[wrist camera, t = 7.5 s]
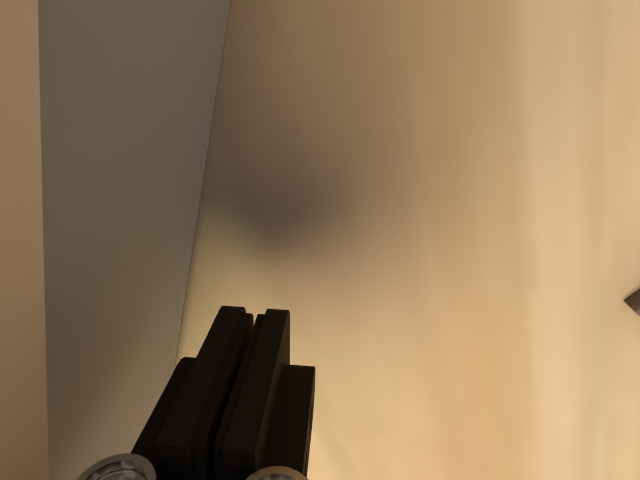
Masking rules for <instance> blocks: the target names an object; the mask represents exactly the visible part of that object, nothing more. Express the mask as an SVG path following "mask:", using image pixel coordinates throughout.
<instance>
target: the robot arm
mask: <svg viewBox="0 0 640 480" xmlns="http://www.w3.org/2000/svg"><path fill="white" fill-rule="evenodd" d="M314 392H315V367H313V366H300V365H290V312H289V310H278V309H267V310H266V313H265V314H258V315H257V318H256V321H255V324H254V321H253V314H250V313H246V310H245V308H244V307H234V306H222V307H221V308H220V310H219V312H218V314H217V316H216V318H215V320H214V322H213V324H212V326H211V328H210V330H209V332H208V335H207V337H206V339H205V341H204V343H203V345H202V347H201V349H200V351H199V353H198V355H197V357H196V358H191V357H183V358H182V359H181V360H180V361H179V363H178V364H177V366H176V368H175V370H174V372H173V374H172V376H171V378H170V379H169V381H168V383H167V385H166V387H165V389H164V391H163V393H162V394H161V396H160V398H159V400H158V402H157V404H156V406H155V408H154V409H153V411H152V413H151V415H150V417H149V419H148V421H147V423H146V424H145V426H144V428H143V430H142V432H141V434H140V436H139V438H138V439H137V441H136V443H135V445H134V447H133V449H132V451H131V453H130V454H129V453H123V454H117V455H112V456H110V457H107V458H105V459H102V460H100V461H98V462H97V463H95V464H94V465H92V466H91V467H89V468H88V469H86V470H85V471H84V472H83V473H82V474H81V475H80V476H79V477H78V478H77V479H76V480H308V479H307V469H308V460H309V450H310V441H311V431H312V421H313V408H314Z"/></svg>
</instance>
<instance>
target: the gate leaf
mask: <svg viewBox="0 0 640 480" xmlns="http://www.w3.org/2000/svg"><path fill="white" fill-rule="evenodd" d="M230 2H231V0H0V480H76V479H77V478H78V477H79V476H80V475H81V474H82V473H83V472H84V471H85V470H86V469H88V468H89V467H91V466H92V465H94V464H95V463H97V462H98V461H100V460H102V459H105V458H107V457H110V456H112V455H117V454H123V453H129V454H130V453H131V451H132V449H133V447H134V445H135V443H136V441H137V439H138V438H139V436H140V434H141V432H142V430H143V428H144V426H145V424H146V423H147V421H148V419H149V417H150V415H151V413H152V411H153V409H154V408H155V406H156V404H157V402H158V400H159V398H160V396H161V394H162V393H163V391H164V389H165V387H166V385H167V383H168V381H169V379H170V378H171V376H172V374H173V371H174V365H175V358H176V352H177V345H178V339H179V333H180V326H181V320H182V313H183V307H184V300H185V294H186V287H187V281H188V274H189V268H190V261H191V255H192V248H193V242H194V235H195V229H196V222H197V216H198V210H199V203H200V197H201V190H202V184H203V177H204V171H205V164H206V158H207V151H208V145H209V138H210V132H211V125H212V119H213V112H214V106H215V99H216V93H217V87H218V80H219V74H220V67H221V61H222V54H223V48H224V41H225V35H226V28H227V22H228V15H229V9H230Z"/></svg>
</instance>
